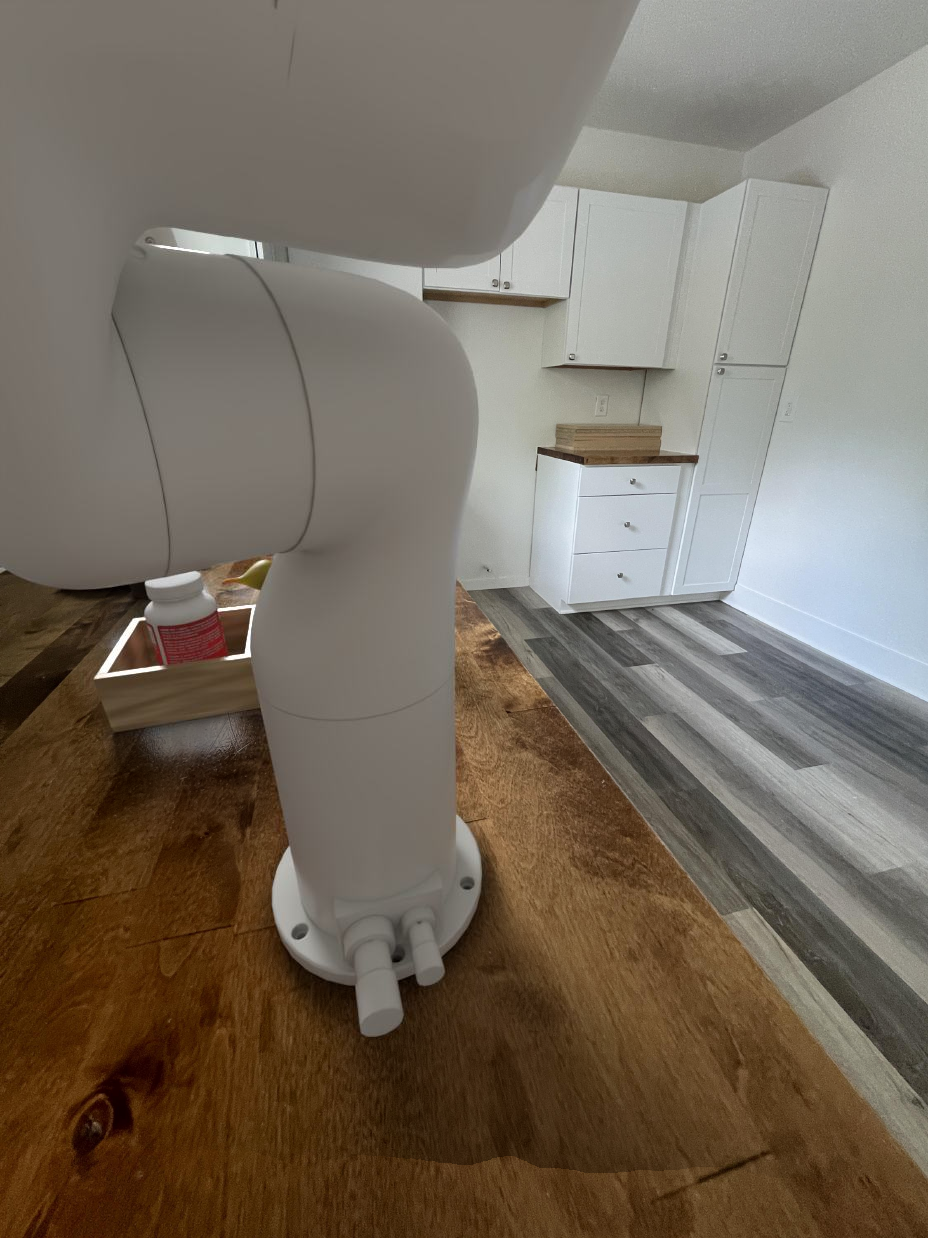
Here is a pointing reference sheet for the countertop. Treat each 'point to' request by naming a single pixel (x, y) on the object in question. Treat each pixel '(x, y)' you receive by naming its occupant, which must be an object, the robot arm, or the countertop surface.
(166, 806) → the countertop surface
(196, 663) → the holder
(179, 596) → the pill bottle
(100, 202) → the robot arm
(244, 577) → the neti pot
